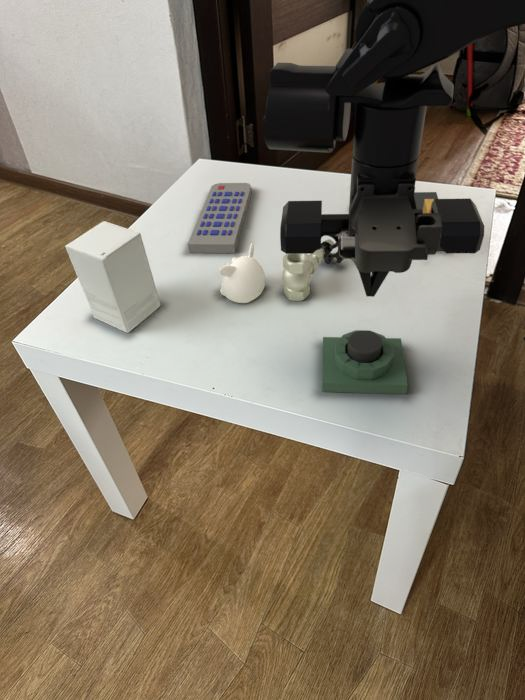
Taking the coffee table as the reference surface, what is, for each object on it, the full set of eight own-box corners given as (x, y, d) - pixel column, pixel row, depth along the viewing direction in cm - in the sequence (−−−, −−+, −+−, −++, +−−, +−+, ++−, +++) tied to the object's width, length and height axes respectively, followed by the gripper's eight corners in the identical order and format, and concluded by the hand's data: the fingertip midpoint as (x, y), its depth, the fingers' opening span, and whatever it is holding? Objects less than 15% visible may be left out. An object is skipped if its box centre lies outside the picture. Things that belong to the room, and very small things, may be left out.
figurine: (243, 272, 79) (239, 236, 75) (276, 284, 76) (274, 248, 72) (211, 299, 75) (205, 263, 70) (245, 313, 72) (241, 276, 67)
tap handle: (420, 224, 80) (424, 197, 77) (428, 224, 80) (434, 197, 77) (423, 241, 77) (429, 213, 73) (433, 241, 76) (438, 213, 73)
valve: (308, 308, 72) (348, 266, 78) (308, 271, 67) (350, 230, 74) (271, 294, 75) (312, 255, 81) (268, 257, 70) (312, 219, 77)
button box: (399, 347, 65) (402, 327, 62) (405, 394, 59) (410, 374, 57) (322, 346, 66) (323, 326, 64) (321, 391, 60) (322, 372, 58)
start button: (379, 340, 62) (380, 330, 60) (381, 364, 59) (383, 353, 58) (346, 340, 62) (347, 329, 61) (347, 363, 59) (348, 352, 58)
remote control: (189, 253, 84) (186, 242, 83) (214, 189, 100) (213, 179, 98) (235, 254, 83) (233, 243, 82) (253, 189, 99) (252, 179, 97)
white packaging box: (162, 305, 74) (142, 232, 66) (127, 335, 70) (101, 260, 61) (128, 290, 78) (104, 218, 69) (92, 318, 74) (62, 245, 65)
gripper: (271, 200, 39) (279, 343, 50) (522, 196, 37) (473, 347, 48) (281, 142, 47) (286, 277, 58) (488, 136, 44) (453, 277, 55)
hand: (370, 294), depth 54 cm, fingers closed
